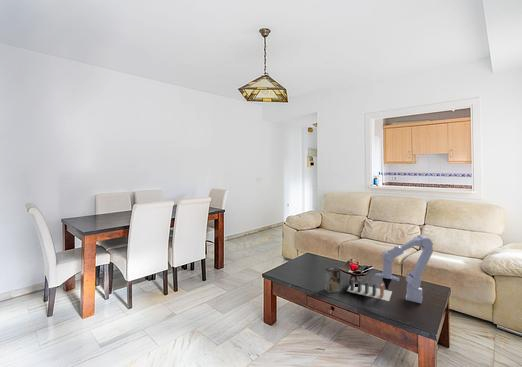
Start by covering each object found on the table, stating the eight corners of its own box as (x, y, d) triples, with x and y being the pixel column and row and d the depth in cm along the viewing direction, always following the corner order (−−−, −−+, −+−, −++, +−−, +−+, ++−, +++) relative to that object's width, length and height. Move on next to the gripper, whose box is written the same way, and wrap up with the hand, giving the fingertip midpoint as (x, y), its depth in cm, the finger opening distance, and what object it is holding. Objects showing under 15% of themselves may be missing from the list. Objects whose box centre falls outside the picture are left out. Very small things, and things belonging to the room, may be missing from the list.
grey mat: (392, 292, 196) (392, 291, 196) (388, 301, 182) (388, 301, 182) (352, 283, 211) (352, 282, 211) (346, 291, 197) (346, 290, 197)
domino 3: (368, 291, 196) (369, 280, 196) (367, 294, 192) (367, 283, 191) (366, 290, 197) (366, 280, 197) (365, 293, 193) (365, 282, 192)
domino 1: (354, 288, 202) (354, 277, 201) (352, 290, 197) (352, 280, 197) (352, 287, 202) (352, 277, 202) (350, 290, 198) (350, 279, 198)
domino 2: (361, 289, 199) (361, 279, 198) (360, 292, 195) (360, 281, 194) (359, 289, 200) (359, 278, 199) (357, 292, 196) (357, 281, 195)
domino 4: (376, 293, 193) (376, 282, 193) (374, 296, 189) (375, 284, 189) (373, 292, 194) (374, 281, 194) (372, 295, 190) (372, 284, 190)
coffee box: (335, 288, 203) (336, 267, 202) (340, 291, 197) (340, 270, 196) (324, 289, 201) (324, 268, 200) (329, 293, 195) (329, 271, 194)
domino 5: (383, 294, 191) (384, 283, 190) (382, 297, 187) (382, 286, 186) (381, 294, 192) (381, 283, 191) (380, 297, 188) (380, 285, 187)
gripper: (399, 269, 186) (399, 289, 187) (377, 265, 193) (376, 284, 194) (398, 273, 180) (398, 293, 181) (375, 268, 188) (374, 288, 188)
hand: (386, 288), depth 187 cm, fingers closed
